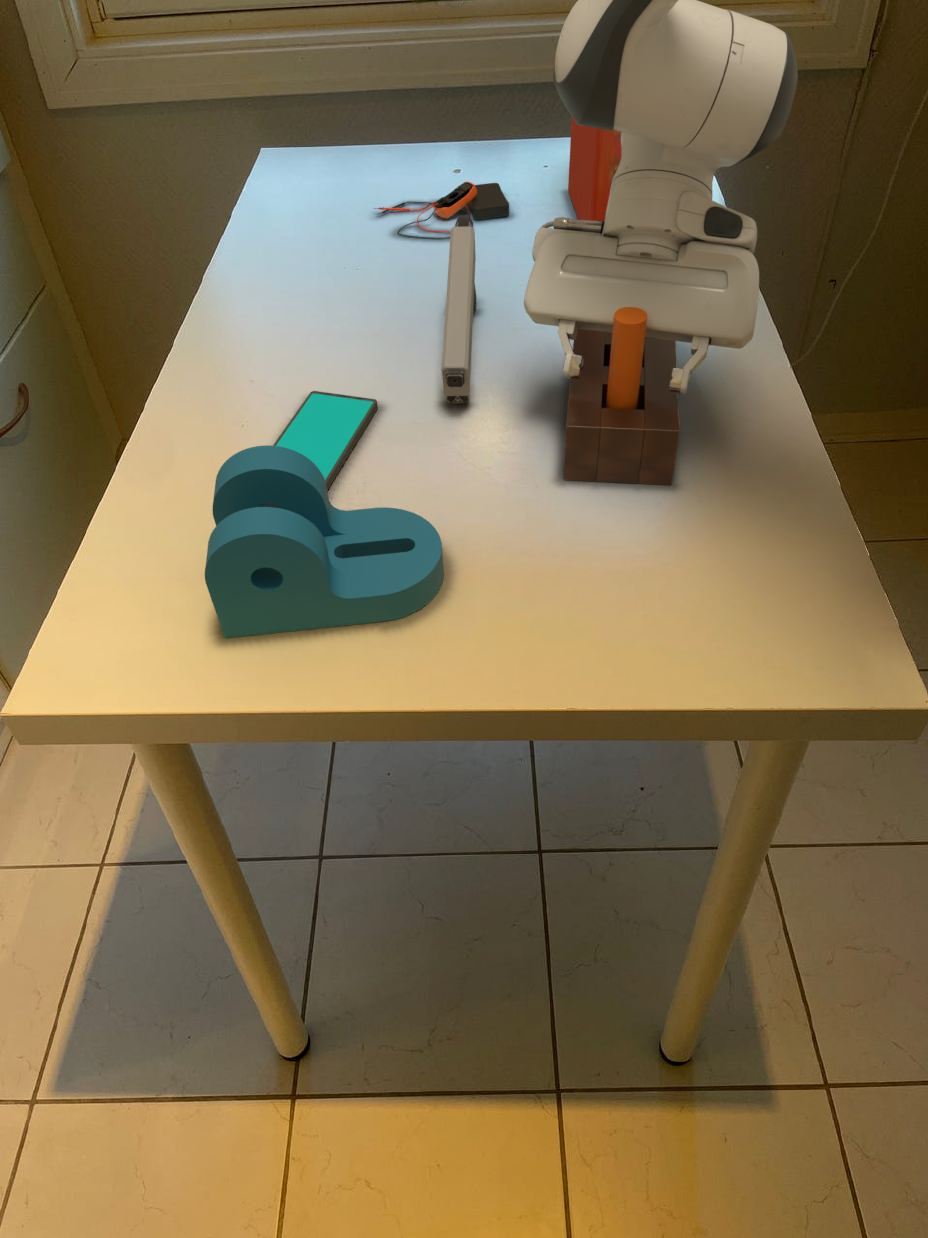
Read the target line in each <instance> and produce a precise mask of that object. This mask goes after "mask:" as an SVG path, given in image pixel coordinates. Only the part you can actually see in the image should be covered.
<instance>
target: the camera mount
mask: <svg viewBox="0 0 928 1238" xmlns="http://www.w3.org/2000/svg"><path fill="white" fill-rule="evenodd" d="M212 517H213V520H214V521H213V522H214V524H215V527H214V528H213V530H212V531H211V533H210V535H209V538H208V544H207V551H206V558H205V569H204V581H205V585H206V588H207V591H208V593H209V596H210V599H211V603H212V605H213V608H214V611H215V613H216V616H217V617H216V618H217V619H218V620H217V621H218V622H219V625H220V628H221V631H222V633H223V637H224V639H231V638H241V637H250V636H258V635H259V636H260V635H268V634H269V635H270V634H278V633H286V632H287V633H288V632H297V631H306V630H307V631H308V630H316V629H326V628H334V627H344V626H353V625H355V626H356V625H363V624H372V623H374V624H375V623H384V622H390V621H395V620H399V619H403V618H405V617H408V616H410V615H412V614H414V613H416V612H418V611H419V610H421V609H423V608H424V607H425V606H427V605H428V604H429V603H430V602H431V601H432V600H433V599H434V598H435V597H436V595H437V594H438V593H439V591H440V589H441V587H442V584H443V582H444V577H445V569H444V568H445V567H444V555H443V554H444V553H443V542H442V538H441V536H440V533H439V532H438V530H437V528H436V527H435V526H434V525H433V524H432V523H431V522H430V521H428V520H427V519H426V518H424V517H423V516H421V515H419V514H417V513H415V512H413V511H409V510H406V509H401V508H395V507H369V508H359V509H358V508H357V509H349V510H343V509H339V508H337V507H335V506H334V505H333V504H332V503H331V502H330V499H329V493H328V490H327V488H326V483H325V479H324V477H323V475H322V473H321V471H320V470H319V468H318V467H317V466H316V465H315V464H314V463H313V462H312V461H311V460H310V459H308V458H307V457H305V456H304V455H302V454H300V453H298V452H296V451H294V450H291V449H288V448H284V447H279V446H273V445H256V446H251V447H248V448H245V449H242V450H239V451H237V452H236V453H234V454H232V455H230V456H229V458H227V459H226V461H224V463H222V465H221V467H220V468H219V470H218V471H217V474H216V477H215V484H214V491H213V501H212Z"/></svg>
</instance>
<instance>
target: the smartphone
mask: <svg viewBox="0 0 928 1238" xmlns="http://www.w3.org/2000/svg"><path fill="white" fill-rule="evenodd" d="M377 410H378V400H377V399H376V398H370V397H369V398H368V397H363V396H362V397H361V396H356V395H355V396H354V395H347V394H341V393H333V392H326V391H319V390H312V391H310V393H309V394H307V397H306V398H305V399H304V401H303V403H302V404H301V405H300V406H299V408H298V409H297V411H296V412H295V414H294V415H293V416H292V418H291V419H290V421H289V422H288V423H287V425H286V426H285V428H284V429H283V431H282V432H281V434H279V436H278V438H277V439H276V440H275V442H274V443H273V445H272V446H279V447H284V448H288V449H291V450H294V451H296V452H298V453H300V454H302V455H304V456H305V457H307V458H308V459H310V460H311V461H312V462H313V463H314V464H315V465H316V466H317V467H318V468H319V470H320V471H321V473H322V475H323V477H324V479H325V483H326V488H327V491H328V490H329V488H330V486H331V485H332V483H333V482H334V480H335V479H336V477H337V475H338V474H339V472H340V470H341V469H342V467H343V465H344V464H345V462H346V460H347V459H348V457H349V456H350V454H351V453H352V451H353V449H354V447H355V446H356V444H357V442H358V441H359V439H360V438H361V436H362V435H363V433H364V431H365V429H366V428H367V426H368V425H369V423H370V422H371V419H372V418H373V417H374V415H375V413H376V411H377Z"/></svg>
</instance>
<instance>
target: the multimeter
mask: <svg viewBox="0 0 928 1238" xmlns="http://www.w3.org/2000/svg"><path fill="white" fill-rule="evenodd" d="M410 203H413V204H427V205H425V206H423V207H421V208H418V209H412V208H408V207H407V208H405V207H404V208H403V206H405V205H406V204H410ZM429 205H432V206H430V207H428V206H429ZM468 206H469V207H468ZM427 207H428V208H427ZM464 207H465V208H466V210H467V211H465V210H462V209H463V208H464ZM469 208H470V209H469ZM374 209H376V210H380V211H381V212H379V213H377V214H376V215H381V214H385V213H387V212H390V211H400V212H410V211H421V210H423V211H421V213H420V214H418V216H417V218H416V221H413V222H410V223H407V224H405V225H403V226H402V227H400V228H399V229H398V230H397V232H396V234H397V235H400V236H403V237H407V238H417V239H433V240H442V239H443V240H445V239H447V240H448V239H450V236H449V237H447V236H446V237H430V236H429V237H427V236H416V235H407V234H401V233H399V232H400V231H401V230H402V229H404V228H405V227H408V226H410V225H413V224H416V223H417V225H418V226H419V227H420V228H421V229H422V230H424V231H428V232H434V233H451V230H447V231H446V230H432V229H428V228H425V227H422V225H421V224H420V223H423V222H426V221H428V220H429V219H431V218H432V216H433V215H434V213H435V214H436V215H437V216H438V217H440V218H442V219H449V218H451V217H452V216H453V215H455V214H456V213H457V212H462V213H465V214H466V215H469V216H470V217H471V214H470V210H471V213H472V216H473V218H474V219H475V220H482V219H483V220H484V219H491V218H492V219H493V218H499V217H506V216H507V217H508V216H509V215H510V203H509V201H508V199H507V198H506V196H505V194H504V193H503V190H502V189H501V185H500V184H499V183H498V182H489V183H480V184H475V183H473V182H471V181H464V182H462V183H461V184H459V185H458V186H456V188H454V189H453V190H452V191H451V192H449V193H448V194H447V195H445V196H442V197H440V198H439V199H437V200H436V201H432V202H429V201H406V202H402V203H399V204H397V205H395V206H392V207H384V206H383V207H374ZM424 209H425V210H424ZM430 209H434V210H433V211H432V213H431V214H430V215H429V217H427V218H426V219H422V220H419V218H420V216H421V215H422V214H424V213H426V212H427V211H428V210H430Z"/></svg>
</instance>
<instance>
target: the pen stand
mask: <svg viewBox="0 0 928 1238" xmlns="http://www.w3.org/2000/svg"><path fill="white" fill-rule="evenodd" d="M676 342H677V341H672V340H664V339H656V338H648V337H645V343H644V351H643V360H642V368H641V377H640V385H639V394H638V403H637V409H613V408H606V400H607V388H608V377H609V366H610V354H611V343H612V333H608V332H600V331H592V330H584V329H578V332H577V337H576V340H573V343H572V349H573V352H574V355H579V356H582V357H583V359H584V366H583V369H582V370H581V372H582V376H581V379H574V378H569V387H568V399H567V400H568V401H567V409H566V410H567V411H566V422H565V436H564V437H565V439H564V459H563V475H562V476H563V477H562V478H563V479H562V480H563V481H578V482H579V481H580V482H601V483H602V482H603V483H619V484H620V483H621V484H641V485H660V486H661V485H663V486H672V483H673V477H674V470H675V465H676V457H677V451H678V447H679V446H678V445H679V439H680V433H681V427H680V406H679V393H677V392H671V391H669V386H670V381H671V380H672V371H673V368H678V364H677V363H678V362H677V346H676V345H677V343H676Z"/></svg>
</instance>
